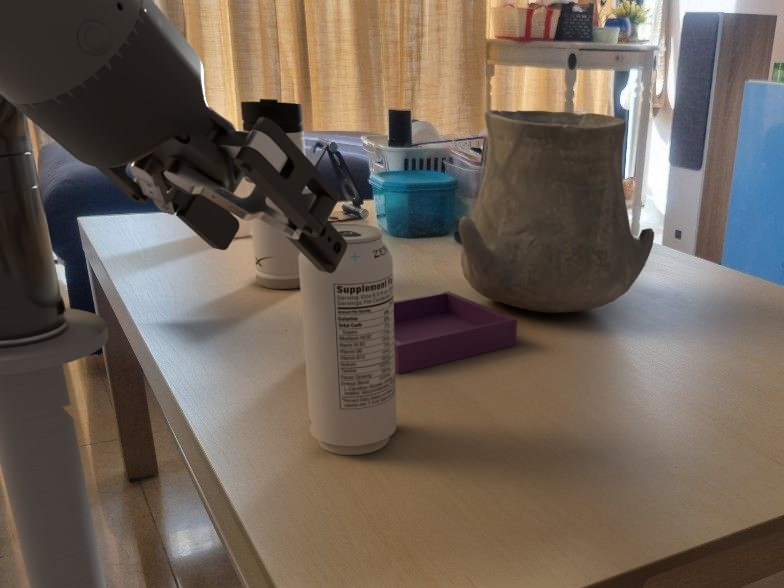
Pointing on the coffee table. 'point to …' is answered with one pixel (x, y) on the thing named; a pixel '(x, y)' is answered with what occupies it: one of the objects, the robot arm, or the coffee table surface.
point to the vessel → (552, 214)
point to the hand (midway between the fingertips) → (280, 248)
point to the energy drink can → (351, 344)
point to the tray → (446, 330)
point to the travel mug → (269, 244)
